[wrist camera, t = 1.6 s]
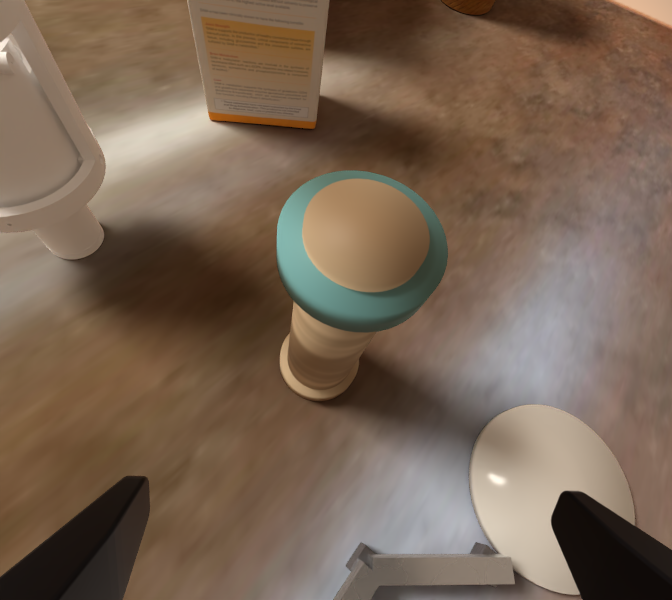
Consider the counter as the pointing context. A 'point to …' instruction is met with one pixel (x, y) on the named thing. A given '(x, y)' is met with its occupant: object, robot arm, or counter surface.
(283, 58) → the supplement box
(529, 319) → the counter surface
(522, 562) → the coaster
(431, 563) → the rail
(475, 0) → the disposable coffee cup
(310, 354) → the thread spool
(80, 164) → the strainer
